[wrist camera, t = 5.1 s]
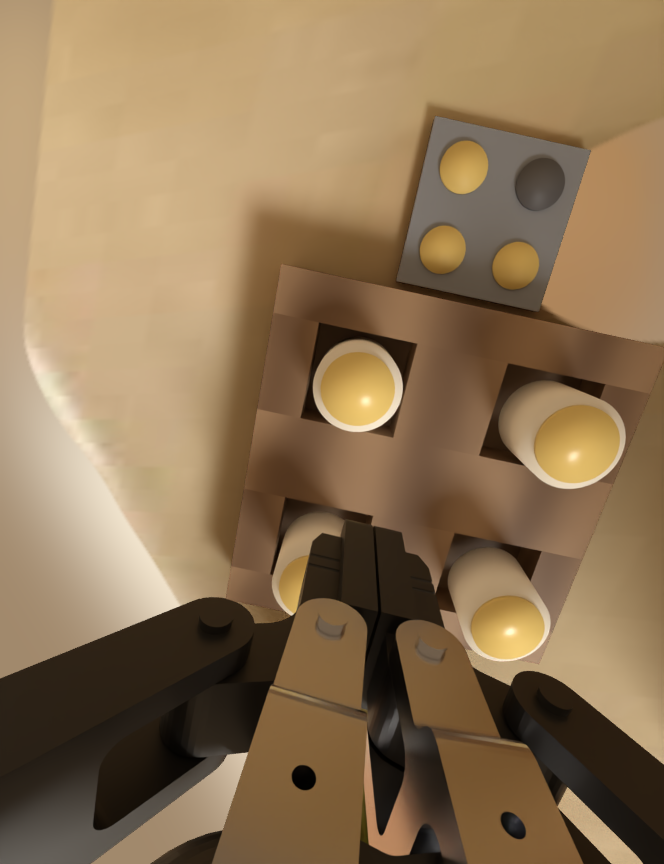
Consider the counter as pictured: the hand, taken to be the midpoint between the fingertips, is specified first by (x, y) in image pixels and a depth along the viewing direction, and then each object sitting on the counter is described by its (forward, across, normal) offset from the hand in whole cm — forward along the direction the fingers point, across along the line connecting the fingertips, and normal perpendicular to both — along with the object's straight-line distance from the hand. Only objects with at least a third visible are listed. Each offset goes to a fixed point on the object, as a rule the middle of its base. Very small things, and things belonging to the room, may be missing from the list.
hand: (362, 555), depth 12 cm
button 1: (+16, +1, -2) cm, 16 cm away
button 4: (+14, -10, +8) cm, 18 cm away
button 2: (+14, -9, -2) cm, 17 cm away
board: (+17, -4, +3) cm, 17 cm away
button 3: (+14, 0, +8) cm, 16 cm away
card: (+17, -4, -12) cm, 21 cm away
